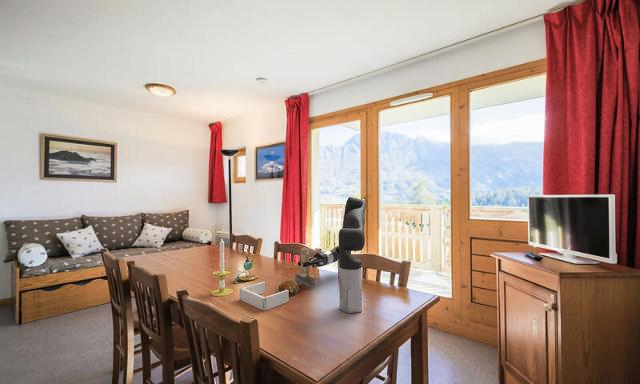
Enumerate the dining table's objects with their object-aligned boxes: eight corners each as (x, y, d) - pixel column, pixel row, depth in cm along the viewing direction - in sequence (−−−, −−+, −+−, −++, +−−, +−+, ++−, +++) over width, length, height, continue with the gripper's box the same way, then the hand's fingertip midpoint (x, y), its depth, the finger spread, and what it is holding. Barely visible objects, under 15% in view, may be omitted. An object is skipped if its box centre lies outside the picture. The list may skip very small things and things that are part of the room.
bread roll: (299, 298, 138) (300, 281, 141) (296, 295, 129) (297, 277, 132) (279, 297, 139) (281, 280, 142) (275, 295, 130) (276, 277, 133)
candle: (225, 297, 129) (225, 239, 129) (206, 295, 131) (206, 238, 131) (236, 289, 139) (236, 235, 139) (218, 288, 141) (218, 235, 141)
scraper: (299, 280, 149) (299, 247, 149) (315, 285, 141) (315, 250, 141) (295, 282, 147) (294, 248, 147) (311, 287, 139) (311, 251, 139)
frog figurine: (226, 281, 153) (229, 254, 155) (255, 278, 165) (257, 252, 167) (234, 285, 146) (237, 256, 148) (264, 281, 158) (266, 255, 160)
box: (263, 291, 136) (263, 281, 136) (288, 301, 124) (288, 290, 124) (239, 299, 127) (239, 288, 127) (264, 310, 114) (264, 298, 114)
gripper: (314, 250, 159) (291, 255, 147) (333, 253, 150) (310, 259, 137) (314, 263, 159) (291, 269, 147) (333, 267, 150) (310, 274, 137)
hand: (300, 264), depth 142 cm, fingers closed on scraper, 3 cm apart
